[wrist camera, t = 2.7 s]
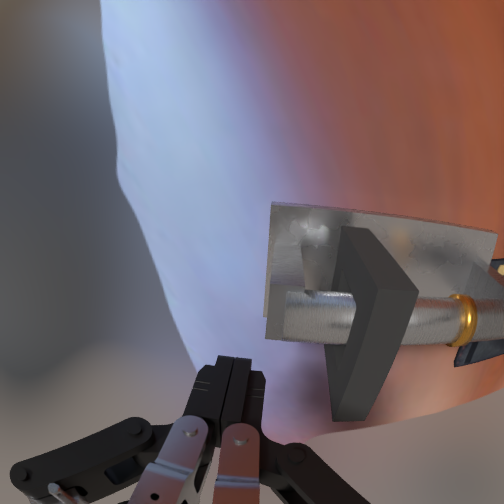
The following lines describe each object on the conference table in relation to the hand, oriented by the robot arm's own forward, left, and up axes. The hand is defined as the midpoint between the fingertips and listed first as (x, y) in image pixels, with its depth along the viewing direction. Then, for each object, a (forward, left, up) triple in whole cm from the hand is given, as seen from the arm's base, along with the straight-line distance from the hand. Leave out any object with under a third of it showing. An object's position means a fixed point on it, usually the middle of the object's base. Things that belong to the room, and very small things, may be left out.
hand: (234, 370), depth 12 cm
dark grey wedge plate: (-7, 0, -10) cm, 12 cm away
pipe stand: (-12, 0, -13) cm, 17 cm away
